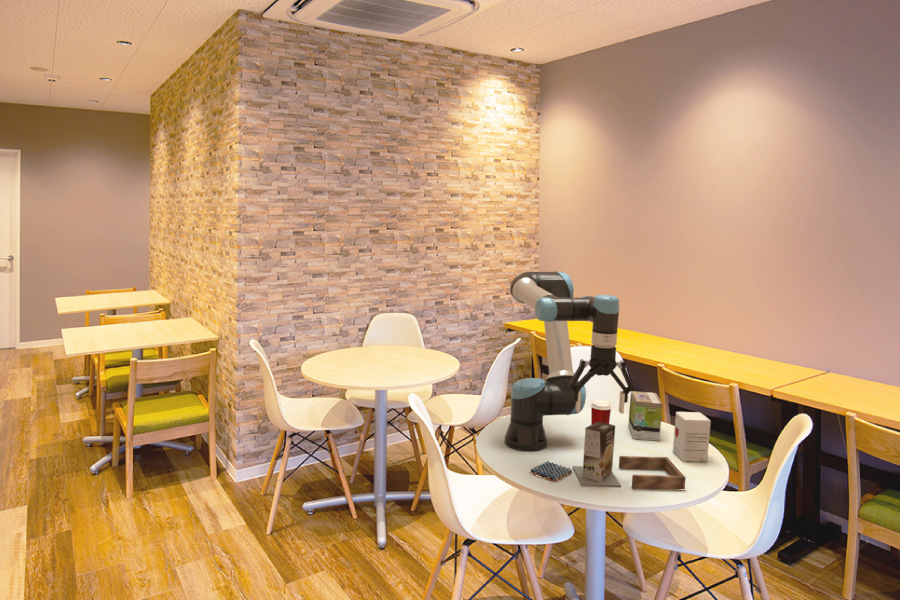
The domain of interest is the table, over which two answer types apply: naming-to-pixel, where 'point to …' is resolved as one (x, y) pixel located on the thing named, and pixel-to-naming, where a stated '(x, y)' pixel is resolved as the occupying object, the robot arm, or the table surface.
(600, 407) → the paper cup
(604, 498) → the table surface
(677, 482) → the frame
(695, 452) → the supplement box
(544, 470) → the woven mat
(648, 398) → the tea box
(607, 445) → the coffee box
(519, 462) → the table surface
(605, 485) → the slate mat
